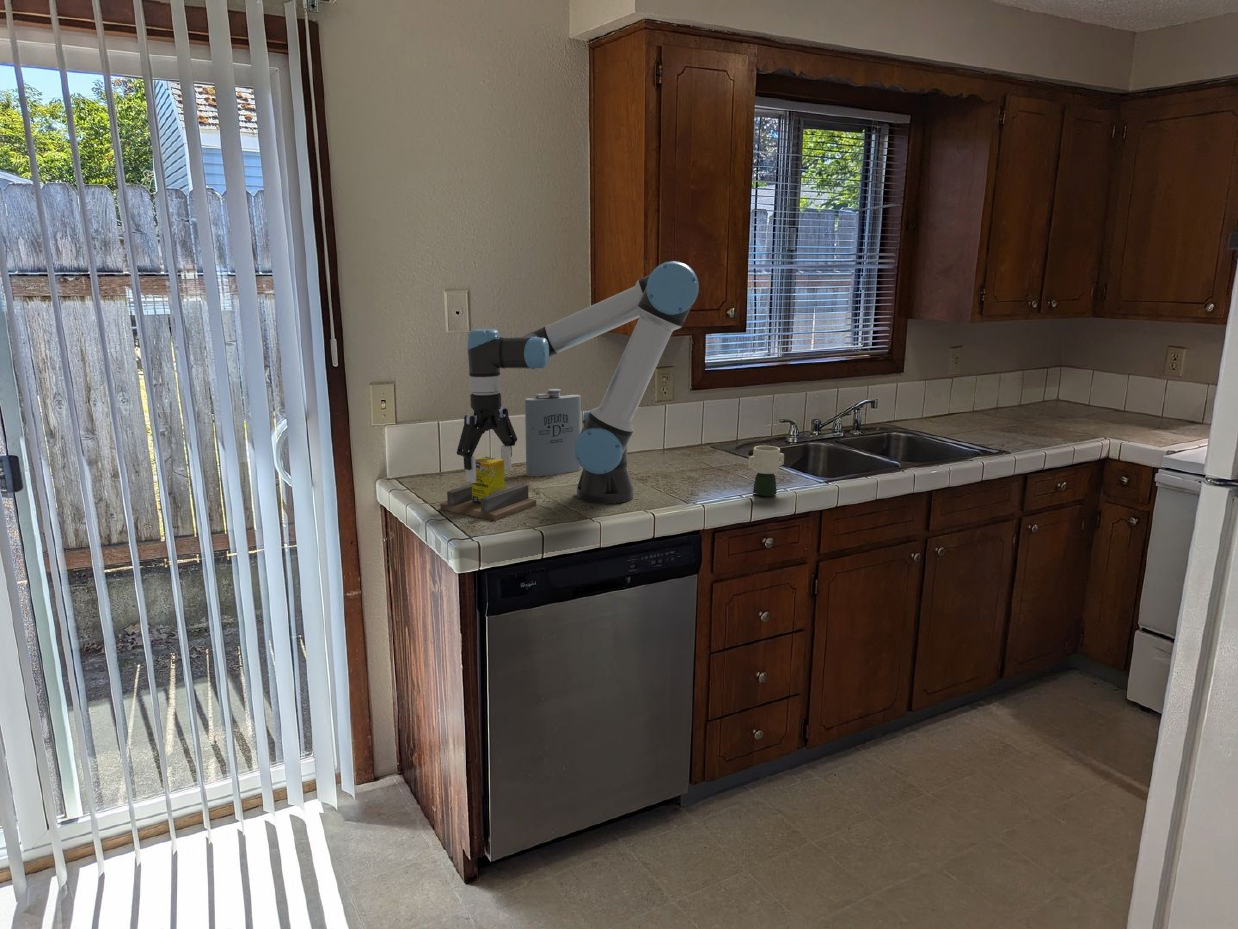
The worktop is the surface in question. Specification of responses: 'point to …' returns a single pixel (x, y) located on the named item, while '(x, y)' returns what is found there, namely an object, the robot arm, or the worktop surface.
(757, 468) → the character mug
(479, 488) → the supplement box
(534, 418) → the flask
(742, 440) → the worktop surface
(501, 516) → the slot rack
